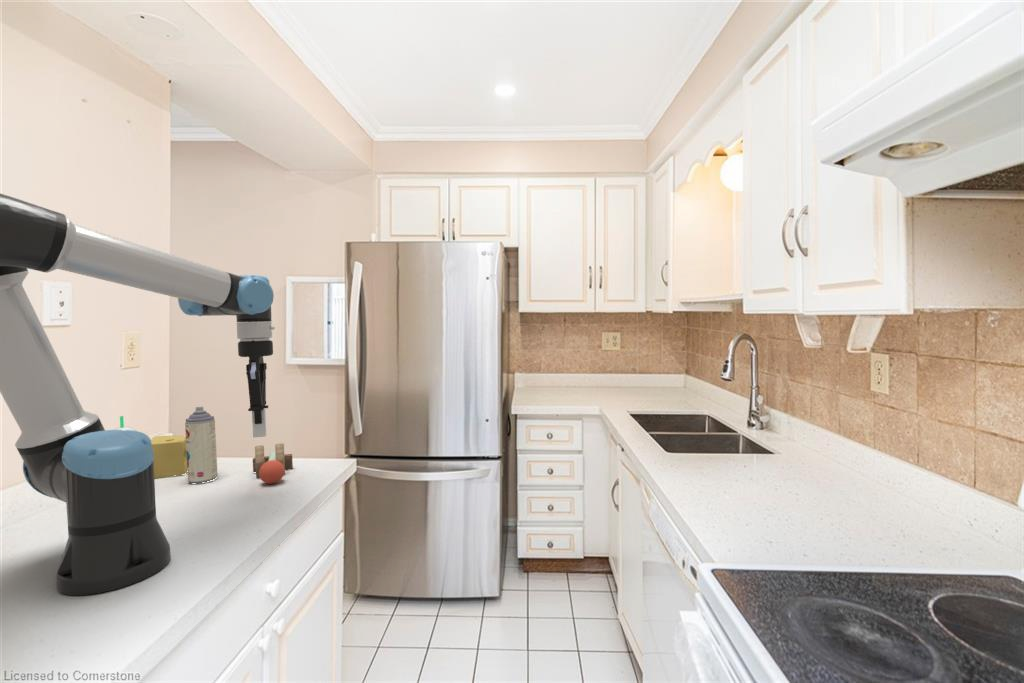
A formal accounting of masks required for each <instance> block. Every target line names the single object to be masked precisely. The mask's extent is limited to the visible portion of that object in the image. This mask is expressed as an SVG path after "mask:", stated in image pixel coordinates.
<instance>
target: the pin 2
mask: <svg viewBox="0 0 1024 683" xmlns="http://www.w3.org/2000/svg"><path fill="white" fill-rule="evenodd" d="M274 450H275V455H276V461H279V462H280V463H282V465H283V466H284V475H283V476H286V470H285V459H284V455H285V443H276V444H275V445H274Z"/></svg>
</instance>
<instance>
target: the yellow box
mask: <svg viewBox="0 0 1024 683" xmlns="http://www.w3.org/2000/svg"><path fill="white" fill-rule="evenodd" d="M150 440H151V443H152V449H153V451H154V478H155V479H159V478H158V477H164V478H168V477H167V476H173V477H175V476H174V475H182V474H185V473H186V472H187V471H188V469H187V450H186V436H184V435H158V436H154V437H151V438H150ZM187 473H188V472H187ZM187 473H186V474H187ZM186 474H185V475H186ZM182 476H183V475H182Z"/></svg>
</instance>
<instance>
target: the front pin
mask: <svg viewBox="0 0 1024 683" xmlns="http://www.w3.org/2000/svg"><path fill="white" fill-rule="evenodd" d="M268 456H269V460H268V461H270V460H276V455H275V449H274V450H271V451H270V452H269V455H268Z"/></svg>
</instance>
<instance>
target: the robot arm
mask: <svg viewBox="0 0 1024 683" xmlns="http://www.w3.org/2000/svg"><path fill="white" fill-rule="evenodd" d="M28 269H29V270H33V271H38V272H43V273H50V272H54V271H56V270H60V271H61V270H62V271H65V272H69V273H73V274H76V275H77V274H78V275H81V276H86V277H90V278H95V279H98V280H102V281H106V282H110V283H114V284H118V285H124V286H126V287H131V288H135V289H139V290H144V291H148V292H151V293H155V294H160V295H164V296H168V297H174V298H177V300H178V302H177V303H178V306H179V308H180V309H181V311H182V312H183V313H184V314H185V315H187V316H198V317H203V316H213V317H214V316H236V334H237V335H236V337H237V339H238V340H239V341H238V342H237V351H238V352H237V354H238V356H239V357H241V358H248V364H246V365H245V366H246V367H245V368H246V378H247V384H248V398H249V408H248V412H251V418H252V419H251V420H252V438H254V439H255V438H264V437H266V436H267V423H266V422H267V421H266V417H267V416H266V409H269V405H268V404H267V398H266V397H267V394H266V393H267V389H266V388H267V384H266V383H267V381H266V380H267V374H266V373H267V369H268V368H267V366H268V365H267V362H264V357H269V356H272V355H273V354H274V344H273V343H274V341H272V340H271V339H272V338H273V331H272V330H275V328H276V327H275V326H274V325H272V304H273V303H274V302H273V301H274V296H275V295H274V294H275V293H274V290H273V287H272V286H271V284H270V279H269V278H268V277H267V276H264V275H255V274H254V275H253V274H252V275H251V274H250V275H248V274H247V275H246V274H243V275H237V274H234V273H232V272H227V271H224V270H221V269H217V268H214V267H211V266H207V265H205V264H201V263H199V262H194V261H191V260H188V259H185V258H183V257H179V256H177V255H176V256H175V255H173V254H171V253H167V252H163V251H160V250H158V249H153V248H151V247H147V246H145V245H142V244H137V243H136V242H132V241H128V240H125V239H123V238H119V237H115V236H112V235H110V234H106V233H102V232H99V231H97V230H93V229H90V228H87V227H85V226H81V225H78V224H74V223H73V222H72V221H71V220H70V218H69V216H68V215H67V214H64V213H61V212H58V211H55V210H52V209H49V208H45V207H43V206H39V205H37V204H35V203H30V202H27V201H24V200H22V199H19V198H16V197H12V196H10V195H7V194H4V193H0V394H1V396H2V398H3V400H4V402H5V404H6V405H7V408H8V409H9V411H10V413H11V415H12V416H13V419H14V420H15V422H16V424H17V426H18V428H19V430H20V431H21V432H20V433H21V434H20V435H19V437H18V439H17V440H16V442H15V444H14V446H15V448H16V450H17V451H18V453H19V455H20V458H21V459H22V462H23V463H22V472H23V475H24V478H25V480H26V481H27V483H28V484H29V485H30V487H31V488H32V489H34V491H36V492H38V493H39V494H41V495H43V496H46V497H49V498H52V499H53V498H54V499H56V500H59V501H62V502H64V503H65V504H66V516H67V517H66V518H67V530H68V531H67V535H68V537H67V541H66V543H65V548H64V550H63V553H62V557H61V559H60V562H59V565H58V567H57V571H56V576H55V578H56V580H55V581H56V589H57V591H58V592H59V593H61V594H63V595H69V596H85V595H95V594H99V593H105V592H109V591H114V590H117V589H120V588H123V587H127V586H130V585H132V584H136V583H138V582H140V581H143V580H145V579H147V578H149V577H151V576H153V575H155V574H157V573H158V572H160V571H161V570H163V569H164V568H165V567H167V565H168V564H169V563H170V561H171V546H170V542H169V541H168V539H167V537H166V535H165V533H164V531H163V529H162V526H161V525H160V523H159V521H158V519H157V518H158V517H157V507H156V506H157V505H156V485H155V484H156V483H155V482H156V481H155V479H154V451H153V449H152V443H151V438H150V437H149V436H148V435H147V434H146V433H144V432H143V431H142V432H141V431H139V430H136V431H133V430H125V431H122V430H114V429H107V430H106V429H105V428H104V426H103V423H102V421H101V418H100V417H99V415H98V414H96V413H92V412H89V411H86V410H84V409H83V407H82V404H81V402H80V400H79V399H78V396H77V394H76V392H75V391H74V388H73V386H72V384H71V382H70V380H69V378H68V375H67V374H66V372H65V370H64V368H63V365H62V363H61V362H60V360H59V357H58V356H57V353H56V351H55V350H54V347H53V345H52V343H51V341H50V339H49V337H48V335H47V333H46V331H45V329H44V327H43V325H42V322H41V320H40V319H39V317H38V315H37V313H36V311H35V309H34V307H33V304H32V302H31V301H30V299H29V295H28V294H27V292H26V291H25V288H24V286H23V283H24V281H25V279H26V277H27V276H28V274H29V270H28Z"/></svg>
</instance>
